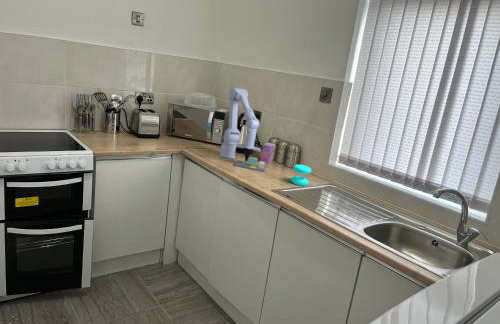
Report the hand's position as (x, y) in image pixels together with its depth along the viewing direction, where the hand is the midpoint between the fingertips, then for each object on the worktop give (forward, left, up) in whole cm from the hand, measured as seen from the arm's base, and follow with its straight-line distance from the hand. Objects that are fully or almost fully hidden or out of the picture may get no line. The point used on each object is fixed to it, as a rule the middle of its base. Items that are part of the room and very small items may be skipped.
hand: (246, 160), depth 232 cm
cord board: (+3, 0, -3) cm, 4 cm away
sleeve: (+4, 0, -1) cm, 4 cm away
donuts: (+33, -15, -3) cm, 36 cm away
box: (+11, +23, -3) cm, 26 cm away
